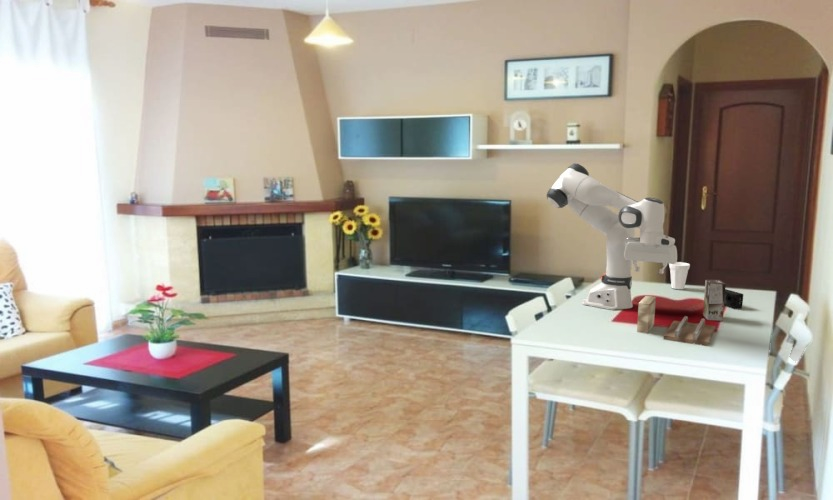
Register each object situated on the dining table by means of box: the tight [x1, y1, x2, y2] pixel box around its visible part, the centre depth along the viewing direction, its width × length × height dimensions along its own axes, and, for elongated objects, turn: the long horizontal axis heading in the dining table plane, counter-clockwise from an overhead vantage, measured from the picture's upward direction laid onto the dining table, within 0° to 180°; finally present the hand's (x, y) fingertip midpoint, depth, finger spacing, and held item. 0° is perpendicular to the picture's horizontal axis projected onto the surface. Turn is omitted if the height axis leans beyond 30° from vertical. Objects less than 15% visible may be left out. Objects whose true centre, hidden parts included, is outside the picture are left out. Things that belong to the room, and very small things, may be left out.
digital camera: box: [724, 288, 744, 310], centre depth 307 cm, size 10×5×7 cm, turn 21°
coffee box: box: [702, 279, 727, 322], centre depth 286 cm, size 9×6×16 cm
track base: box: [662, 315, 716, 346], centre depth 263 cm, size 16×24×4 cm, turn 150°
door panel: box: [636, 295, 657, 334], centre depth 271 cm, size 4×14×12 cm, turn 150°
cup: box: [668, 261, 691, 290], centre depth 341 cm, size 10×10×13 cm
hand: (649, 272), depth 268 cm, fingers open, 8 cm apart
